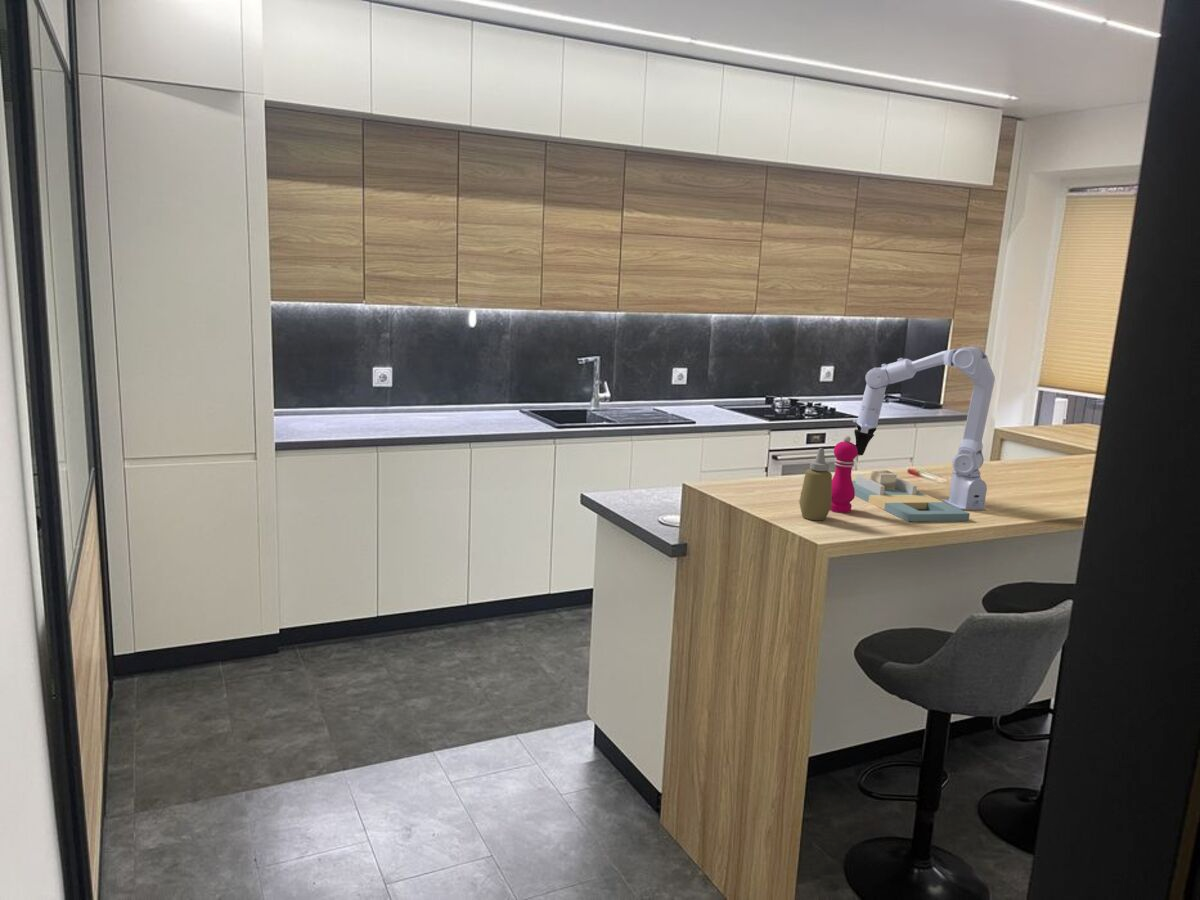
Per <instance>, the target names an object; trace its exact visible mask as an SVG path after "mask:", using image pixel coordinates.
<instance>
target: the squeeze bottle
mask: <svg viewBox="0 0 1200 900" xmlns="http://www.w3.org/2000/svg"><path fill="white" fill-rule="evenodd" d="M825 459H826V456H825V449H824V448H820V447H819V448H818V451H817V454H816V456H815V460H813V461H810V464H809V469H807V470H805V473H804V478H803V483H802V488H801V492H800V498H799V501H798V502H799V508H800V512H801V517H802V518H804V519H807V520H811V521H825V520H826V519H827V517H828V514H829V512H830V509H831V506H832V479H833V473H831V472H830V463H829V462H826V460H825Z"/></svg>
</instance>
